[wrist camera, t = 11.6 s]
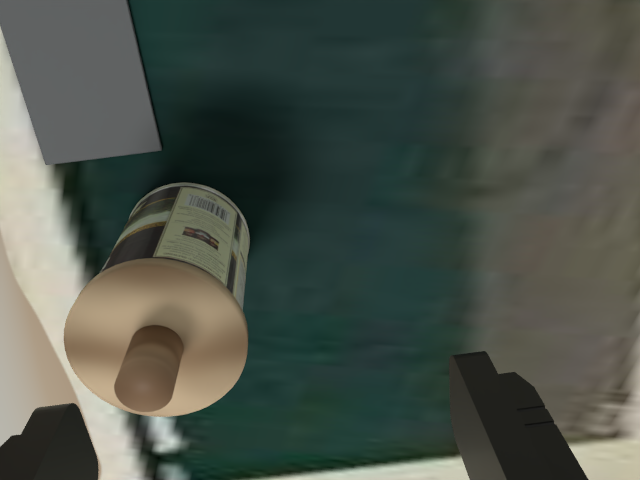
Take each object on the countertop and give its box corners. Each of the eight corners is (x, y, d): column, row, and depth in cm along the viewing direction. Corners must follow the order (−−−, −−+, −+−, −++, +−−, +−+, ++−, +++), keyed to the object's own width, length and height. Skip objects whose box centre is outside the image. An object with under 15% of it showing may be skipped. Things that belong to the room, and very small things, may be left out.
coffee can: (131, 291, 52) (84, 399, 40) (121, 179, 48) (65, 261, 35) (250, 293, 53) (242, 400, 41) (252, 183, 49) (242, 265, 36)
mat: (-16, -33, 41) (-19, -32, 41) (116, -49, 41) (114, -49, 41) (47, 163, 47) (45, 165, 47) (162, 149, 47) (161, 150, 47)
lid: (46, 272, 36) (10, 320, 31) (230, 246, 36) (223, 290, 31) (98, 414, 40) (75, 475, 36) (261, 391, 40) (259, 449, 36)
